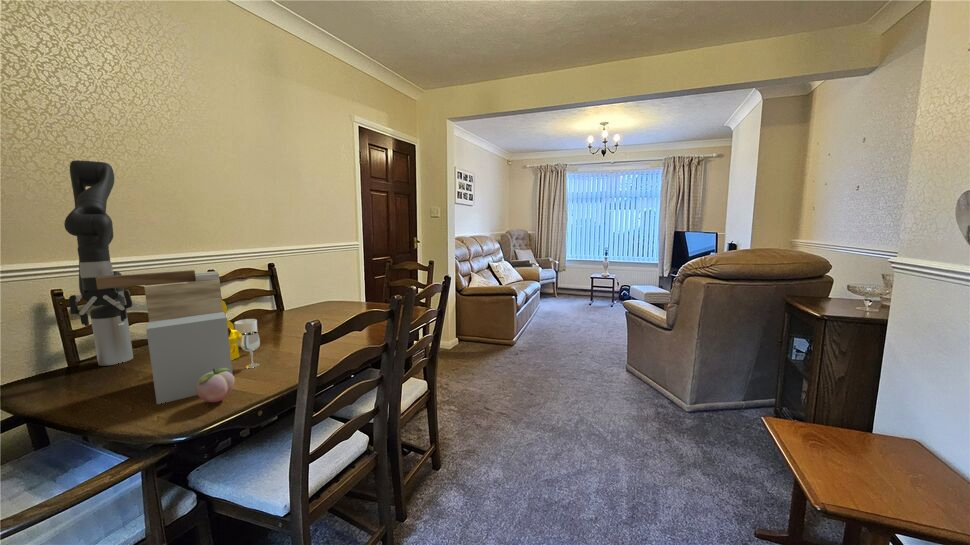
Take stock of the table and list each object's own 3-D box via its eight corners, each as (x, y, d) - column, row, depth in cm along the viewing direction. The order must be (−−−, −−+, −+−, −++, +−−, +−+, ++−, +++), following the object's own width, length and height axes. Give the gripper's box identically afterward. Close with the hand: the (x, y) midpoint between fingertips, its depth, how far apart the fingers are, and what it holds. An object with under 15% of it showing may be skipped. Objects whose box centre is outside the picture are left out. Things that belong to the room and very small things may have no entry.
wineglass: (239, 367, 129) (235, 334, 127) (254, 362, 134) (251, 330, 132) (250, 370, 126) (247, 336, 125) (265, 364, 132) (262, 331, 130)
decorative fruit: (214, 394, 109) (211, 362, 108) (241, 394, 109) (238, 362, 107) (188, 410, 100) (184, 375, 98) (218, 410, 100) (214, 375, 98)
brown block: (100, 286, 108) (98, 275, 108) (217, 277, 126) (216, 267, 125) (95, 290, 102) (94, 279, 102) (219, 279, 120) (218, 270, 119)
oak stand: (159, 379, 120) (146, 282, 115) (226, 365, 131) (217, 276, 127) (158, 389, 112) (144, 286, 108) (229, 373, 124) (219, 280, 119)
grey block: (158, 393, 110) (148, 322, 107) (230, 376, 121) (223, 312, 118) (156, 404, 103) (146, 328, 100) (233, 386, 114) (226, 317, 111)
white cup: (248, 348, 148) (245, 324, 147) (231, 347, 150) (229, 323, 148) (263, 342, 156) (261, 319, 154) (247, 341, 157) (245, 318, 156)
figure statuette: (205, 369, 128) (198, 307, 124) (195, 364, 132) (187, 305, 128) (258, 353, 143) (253, 298, 140) (247, 349, 147) (242, 295, 144)
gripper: (128, 272, 128) (135, 317, 130) (68, 276, 120) (77, 325, 122) (125, 273, 123) (132, 321, 124) (62, 278, 114) (71, 329, 116)
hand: (105, 323), depth 123 cm, fingers open, 8 cm apart
